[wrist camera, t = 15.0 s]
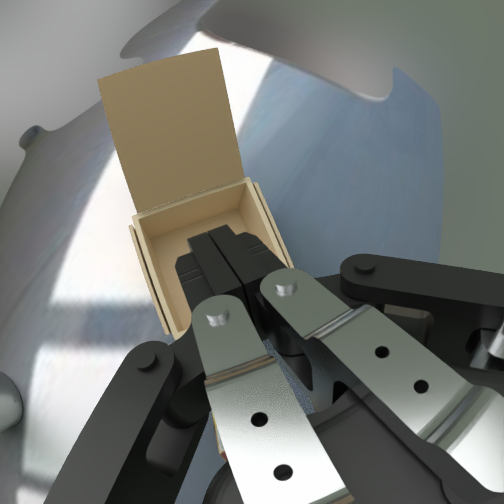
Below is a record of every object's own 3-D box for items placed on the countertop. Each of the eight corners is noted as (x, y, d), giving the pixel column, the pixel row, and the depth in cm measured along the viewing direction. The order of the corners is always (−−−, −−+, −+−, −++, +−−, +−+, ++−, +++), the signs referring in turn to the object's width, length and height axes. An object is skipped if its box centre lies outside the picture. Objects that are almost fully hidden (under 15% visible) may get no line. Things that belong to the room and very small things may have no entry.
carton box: (178, 341, 38) (171, 348, 29) (141, 239, 40) (125, 218, 31) (284, 299, 41) (306, 293, 32) (244, 202, 43) (254, 174, 35)
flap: (137, 213, 31) (97, 79, 22) (137, 212, 31) (97, 80, 23) (244, 177, 33) (217, 47, 25) (243, 176, 34) (216, 48, 26)
